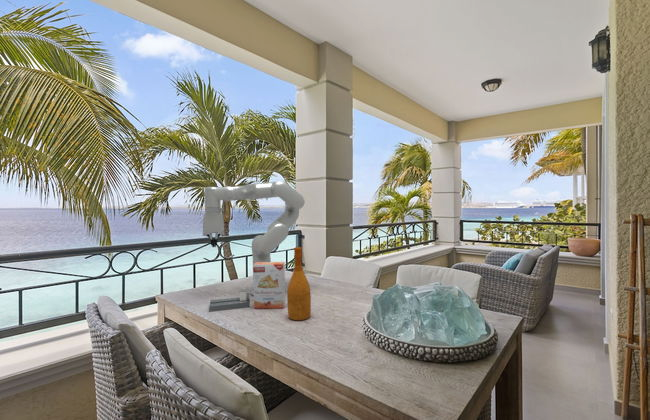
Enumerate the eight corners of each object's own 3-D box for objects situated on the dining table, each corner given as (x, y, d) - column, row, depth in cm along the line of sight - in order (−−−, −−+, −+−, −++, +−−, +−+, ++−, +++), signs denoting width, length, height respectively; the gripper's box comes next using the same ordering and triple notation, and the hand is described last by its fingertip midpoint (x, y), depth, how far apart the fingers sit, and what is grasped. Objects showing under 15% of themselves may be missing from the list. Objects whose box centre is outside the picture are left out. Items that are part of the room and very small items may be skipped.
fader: (245, 298, 154) (245, 288, 154) (246, 301, 149) (246, 290, 149) (239, 299, 153) (239, 288, 153) (239, 302, 148) (239, 291, 148)
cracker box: (253, 309, 144) (252, 264, 144) (256, 305, 150) (255, 261, 150) (284, 308, 144) (282, 263, 144) (285, 304, 150) (284, 261, 150)
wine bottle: (314, 314, 136) (312, 245, 135) (305, 322, 127) (304, 248, 126) (293, 312, 139) (292, 245, 139) (283, 320, 130) (282, 248, 129)
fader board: (248, 300, 157) (248, 292, 157) (250, 307, 147) (249, 298, 147) (210, 305, 151) (210, 296, 151) (209, 311, 142) (209, 303, 142)
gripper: (228, 210, 165) (229, 245, 166) (198, 211, 161) (199, 246, 161) (228, 210, 158) (229, 246, 159) (196, 211, 154) (197, 248, 154)
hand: (214, 246), depth 160 cm, fingers closed
